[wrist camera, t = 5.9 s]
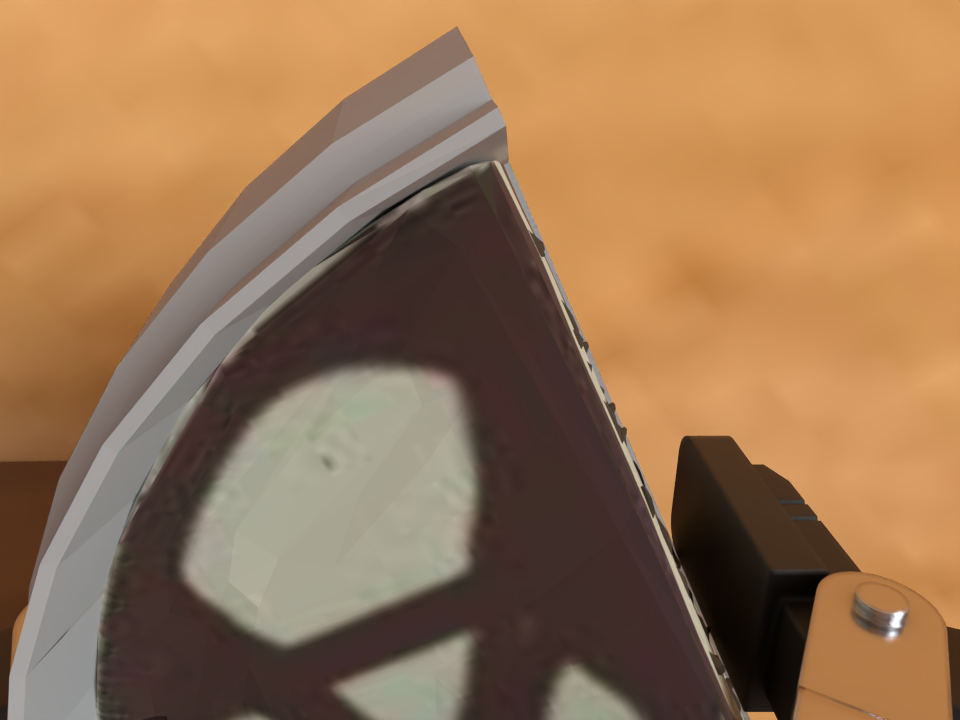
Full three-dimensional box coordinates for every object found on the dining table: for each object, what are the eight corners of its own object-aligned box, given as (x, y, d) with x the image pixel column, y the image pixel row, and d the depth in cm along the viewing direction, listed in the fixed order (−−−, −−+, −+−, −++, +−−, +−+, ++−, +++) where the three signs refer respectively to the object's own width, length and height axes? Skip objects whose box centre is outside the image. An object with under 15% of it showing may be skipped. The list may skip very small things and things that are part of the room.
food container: (178, 216, 13) (-598, 527, 4) (469, 70, 12) (444, -25, 3) (455, 666, 17) (430, 1355, 8) (689, 582, 16) (982, 1250, 7)
